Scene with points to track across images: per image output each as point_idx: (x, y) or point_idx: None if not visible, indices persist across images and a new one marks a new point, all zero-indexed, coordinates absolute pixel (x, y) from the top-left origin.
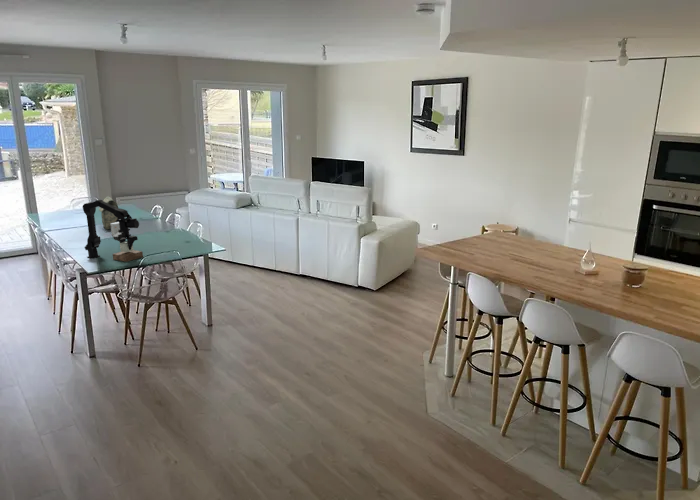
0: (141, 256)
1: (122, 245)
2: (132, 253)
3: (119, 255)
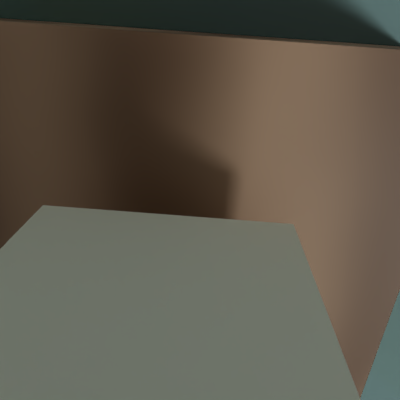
0: None
1: (140, 377)
2: None
3: (165, 33)
